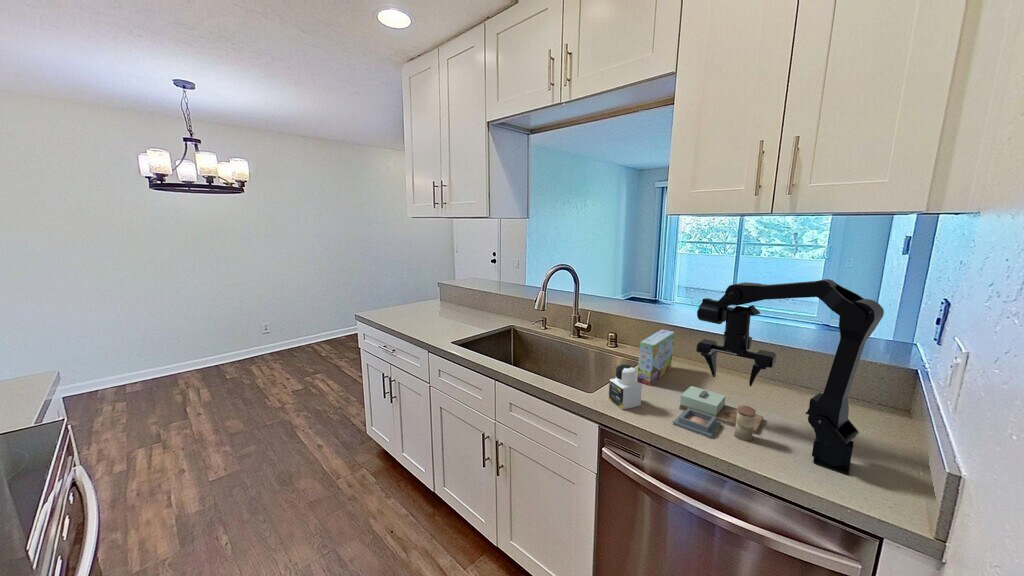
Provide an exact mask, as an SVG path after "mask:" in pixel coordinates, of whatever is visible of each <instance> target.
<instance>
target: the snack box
mask: <svg viewBox="0 0 1024 576" xmlns="http://www.w3.org/2000/svg"><path fill="white" fill-rule="evenodd" d="M675 332H676V331H670V330H667V329H660V330H658V331H656V332H655V333H653V334H651V335H650V336H648V337H646V338H645V339H642V340H641V341H640V343H639V344H640V345H639V353H638V354H639V355H638V362H637V363H638V365H637V374H636V381H637V382H638V383H640V384H643V385H647V386H651V385H653V384H654V383H655V382H656V381H657V380H659V379H660V378H661V377H663V376H664V375H665V374H666V373H667V372H669V371H670V370H671V369H672V364H673V363H672V360H673V352H674V351H673V350H674V342H675V335H676V334H675Z"/></svg>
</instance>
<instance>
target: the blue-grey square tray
mask: <svg viewBox="0 0 1024 576" xmlns="http://www.w3.org/2000/svg"><path fill="white" fill-rule="evenodd" d="M672 425H673V426H676V427H679V428H682V429H685V430H687V431H690V432H693V433H695V434H697V435H698V434H699V435H700V434H701V435H700V436H703V437H707V438H709V439H712V438H714V436H715V434H716V433H717V431H719V428H720V427H721V426H722V423H721V422H718V421H716V417H715V416H712V415H709V414H706V413H703V412H700V411H697V410H693V409H690V408H688V409H687V410H686V411H685V410H682V412H681V413H680V414H679V415H678V416H677V417H676V419H674V420H673V422H672Z"/></svg>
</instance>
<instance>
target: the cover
mask: <svg viewBox="0 0 1024 576" xmlns="http://www.w3.org/2000/svg"><path fill="white" fill-rule="evenodd" d="M679 402H680V404H679V406H680V405H683V406H687V407H690V408H693V409H696V410H699V411H702V412H705V413H708V414H711V415H714V416H716V415H717V414H718V413H719V411H720V410H721V409H722V408H723V406H724V405H726V395H725V394H724V395H723V394H721V393H717V392H714V391H710V390H706V389H704V388H700V387H696V386H694V385H693V386H692V385H690V386H689V387H688V388H687V389H685V391H684V392H683V393H682V394H681V395H680V401H679Z"/></svg>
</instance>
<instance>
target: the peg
mask: <svg viewBox="0 0 1024 576" xmlns="http://www.w3.org/2000/svg"><path fill="white" fill-rule="evenodd" d="M755 414H757V411H756V410H755V409H754V408H753V407H751V406H748V405H738V406H737V418H736V426H735V427H734V437H735V438H736V439H737V440H739V441H743V442H752V441H753V435H754V433H753V428H754V420H755Z"/></svg>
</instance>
